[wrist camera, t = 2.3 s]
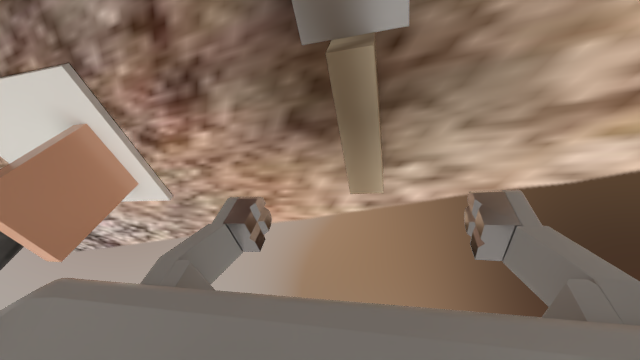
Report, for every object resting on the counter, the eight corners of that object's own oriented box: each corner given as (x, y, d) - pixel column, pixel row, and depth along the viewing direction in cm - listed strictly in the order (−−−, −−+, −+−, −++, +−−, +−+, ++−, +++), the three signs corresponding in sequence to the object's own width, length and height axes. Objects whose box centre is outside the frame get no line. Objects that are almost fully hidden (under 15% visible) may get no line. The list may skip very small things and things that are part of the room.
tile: (71, 125, 23) (-52, 199, 16) (86, 123, 23) (-34, 198, 16) (125, 184, 27) (45, 261, 21) (138, 183, 27) (61, 261, 20)
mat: (-66, 91, 24) (-74, 94, 24) (68, 63, 20) (61, 66, 19) (61, 199, 33) (56, 202, 32) (173, 196, 28) (169, 200, 28)
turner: (410, -185, 10) (418, -219, 8) (406, 165, 21) (409, 192, 19) (265, -131, 12) (238, -147, 9) (332, 169, 22) (326, 194, 20)
